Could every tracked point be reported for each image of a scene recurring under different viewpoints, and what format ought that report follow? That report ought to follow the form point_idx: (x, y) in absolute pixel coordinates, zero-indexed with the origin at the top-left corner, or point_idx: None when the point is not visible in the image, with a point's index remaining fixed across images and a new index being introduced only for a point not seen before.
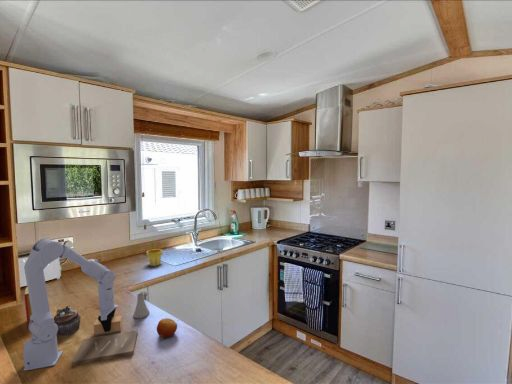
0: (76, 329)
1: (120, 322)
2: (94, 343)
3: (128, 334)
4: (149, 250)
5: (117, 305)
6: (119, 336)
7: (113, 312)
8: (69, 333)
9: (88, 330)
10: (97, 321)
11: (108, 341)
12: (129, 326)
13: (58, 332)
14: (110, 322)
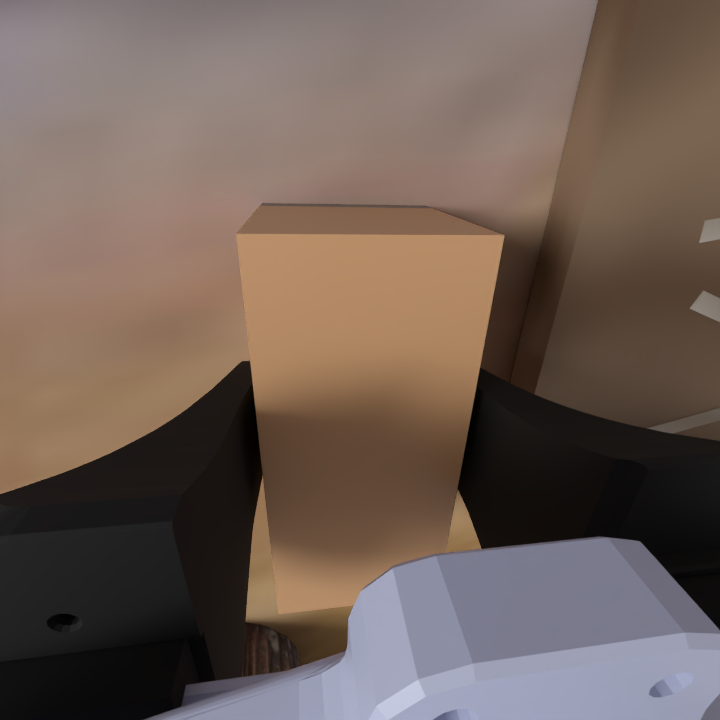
0: (246, 638)
1: (455, 226)
2: None
3: (715, 32)
4: None
5: (530, 675)
6: (675, 192)
7: (223, 476)
8: (292, 651)
9: (266, 551)
10: (346, 586)
11: (696, 319)
12: (304, 70)
13: None
14: (577, 417)
